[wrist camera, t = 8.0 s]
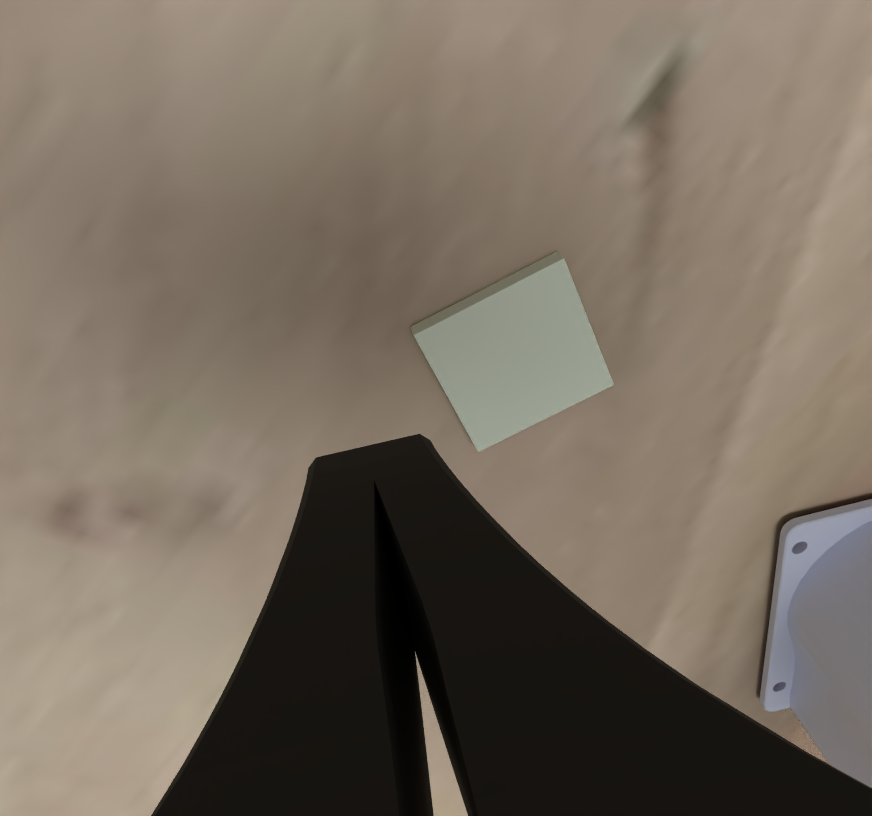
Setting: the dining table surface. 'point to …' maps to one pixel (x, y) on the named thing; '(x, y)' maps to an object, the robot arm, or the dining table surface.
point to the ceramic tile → (515, 352)
